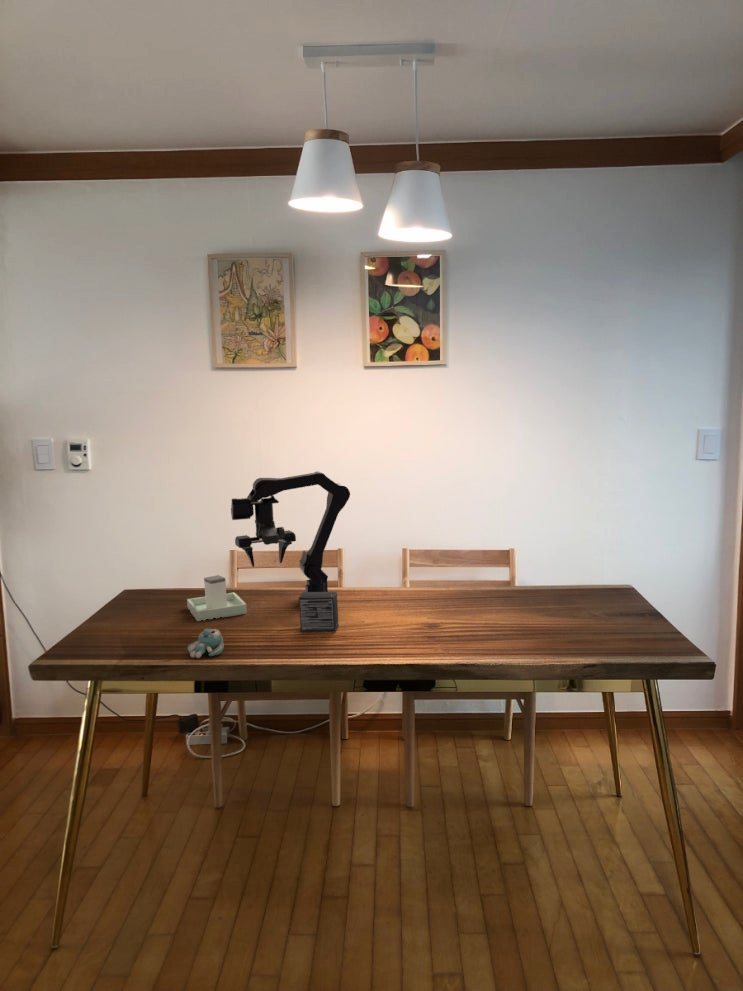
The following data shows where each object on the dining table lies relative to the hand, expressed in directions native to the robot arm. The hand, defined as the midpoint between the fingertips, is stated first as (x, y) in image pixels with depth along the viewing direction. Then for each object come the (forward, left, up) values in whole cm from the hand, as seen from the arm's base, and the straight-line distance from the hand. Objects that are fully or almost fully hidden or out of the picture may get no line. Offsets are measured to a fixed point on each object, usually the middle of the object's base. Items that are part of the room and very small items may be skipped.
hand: (267, 565), depth 259 cm
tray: (+17, -1, -13) cm, 21 cm away
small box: (-6, +32, -13) cm, 35 cm away
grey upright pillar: (+17, -1, -12) cm, 21 cm away
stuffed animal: (+28, +36, -13) cm, 48 cm away
